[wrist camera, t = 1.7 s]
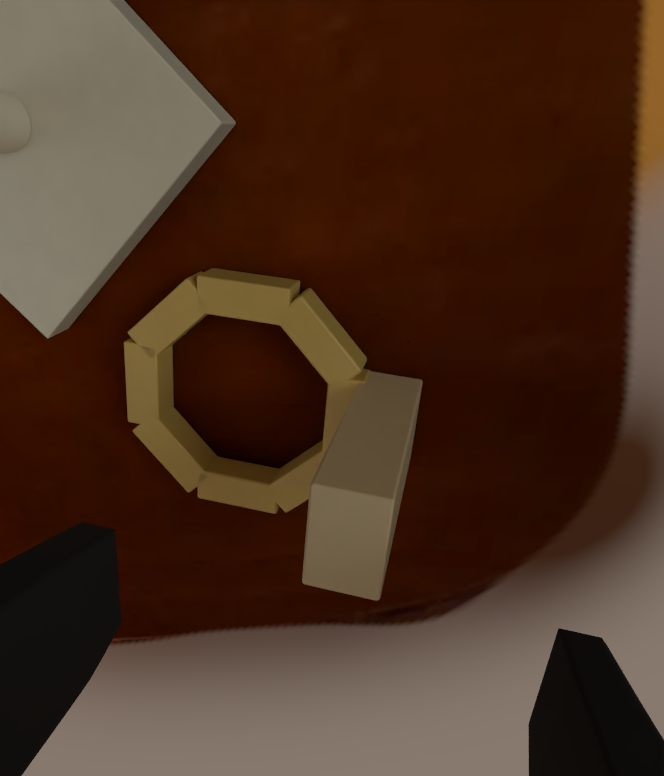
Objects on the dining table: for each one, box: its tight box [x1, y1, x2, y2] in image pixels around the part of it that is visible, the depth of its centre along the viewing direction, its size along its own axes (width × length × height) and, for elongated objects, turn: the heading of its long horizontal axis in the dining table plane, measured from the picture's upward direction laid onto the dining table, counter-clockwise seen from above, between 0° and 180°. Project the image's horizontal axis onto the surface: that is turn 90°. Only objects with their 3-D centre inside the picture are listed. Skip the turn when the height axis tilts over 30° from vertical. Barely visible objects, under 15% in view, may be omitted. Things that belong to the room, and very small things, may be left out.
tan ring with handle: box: [124, 268, 423, 600], centre depth 15 cm, size 8×7×6 cm
